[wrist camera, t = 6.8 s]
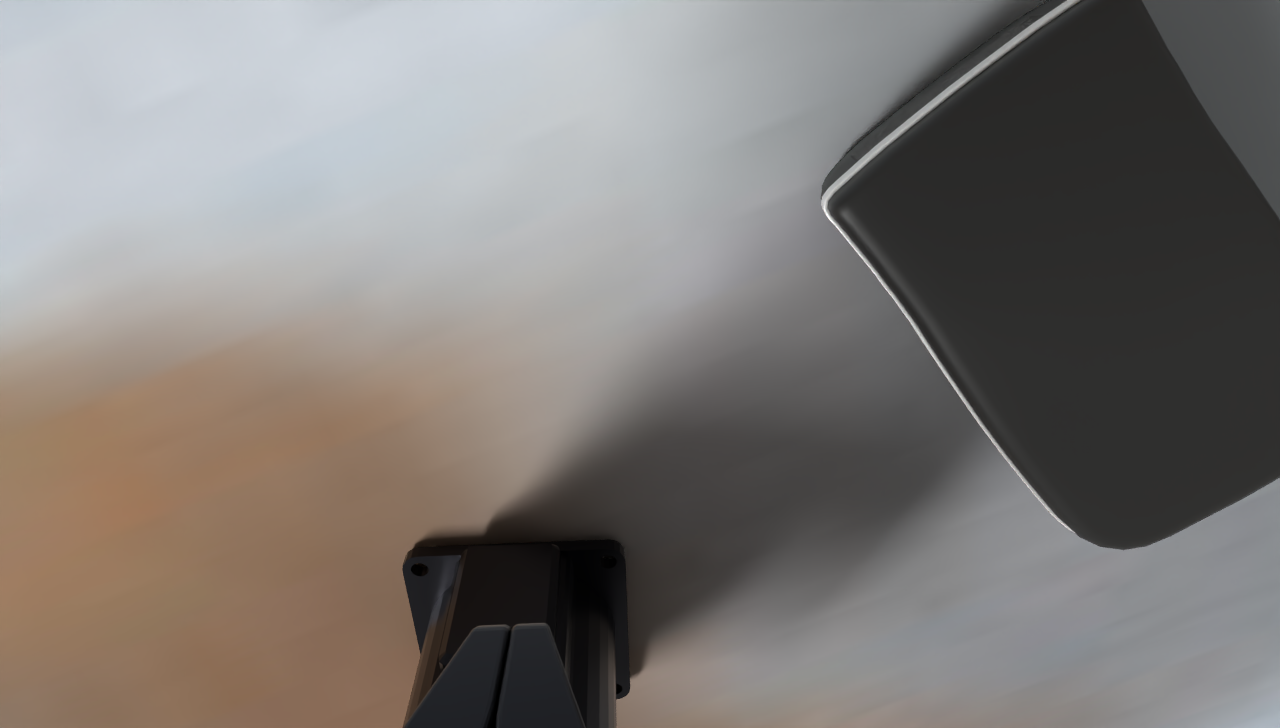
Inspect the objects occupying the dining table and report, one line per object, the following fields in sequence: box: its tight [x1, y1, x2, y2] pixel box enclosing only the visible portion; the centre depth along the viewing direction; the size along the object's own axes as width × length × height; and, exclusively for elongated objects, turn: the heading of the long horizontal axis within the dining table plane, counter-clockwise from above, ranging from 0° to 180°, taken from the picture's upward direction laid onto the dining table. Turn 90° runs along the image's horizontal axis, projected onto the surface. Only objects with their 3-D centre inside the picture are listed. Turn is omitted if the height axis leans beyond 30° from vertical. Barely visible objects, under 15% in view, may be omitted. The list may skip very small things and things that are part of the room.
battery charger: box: [821, 0, 1280, 550], centre depth 18 cm, size 7×4×11 cm
